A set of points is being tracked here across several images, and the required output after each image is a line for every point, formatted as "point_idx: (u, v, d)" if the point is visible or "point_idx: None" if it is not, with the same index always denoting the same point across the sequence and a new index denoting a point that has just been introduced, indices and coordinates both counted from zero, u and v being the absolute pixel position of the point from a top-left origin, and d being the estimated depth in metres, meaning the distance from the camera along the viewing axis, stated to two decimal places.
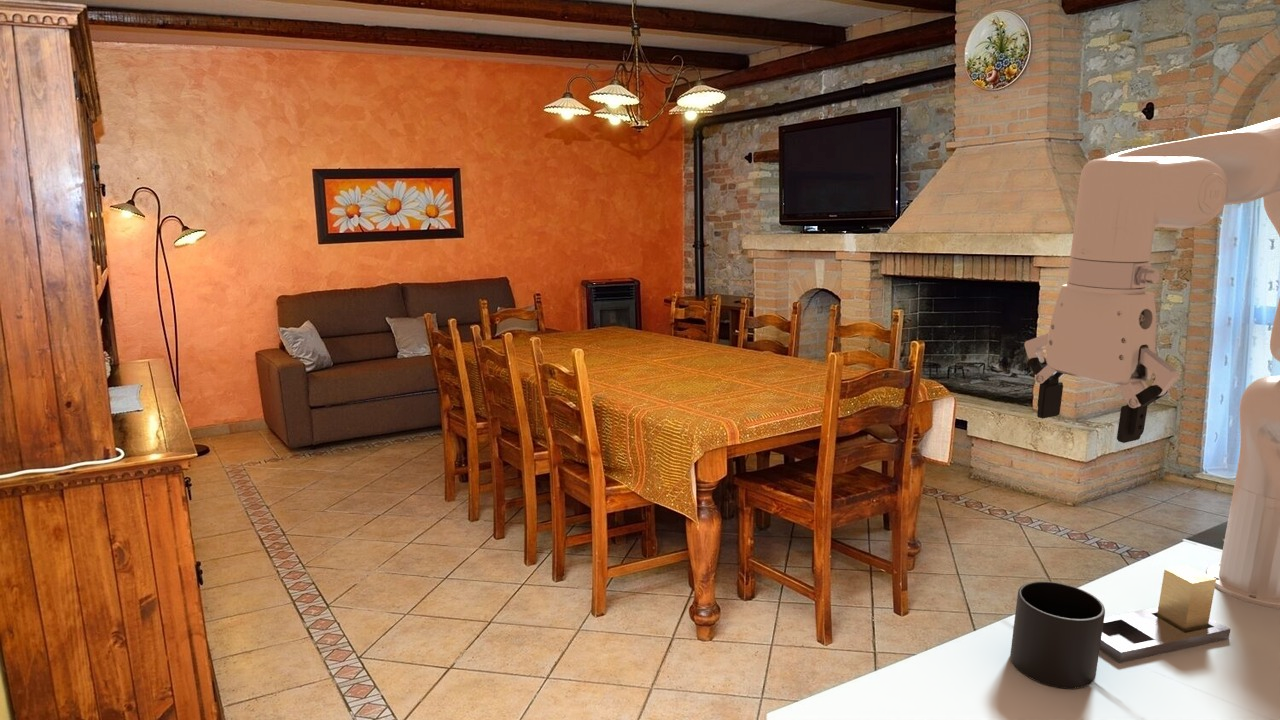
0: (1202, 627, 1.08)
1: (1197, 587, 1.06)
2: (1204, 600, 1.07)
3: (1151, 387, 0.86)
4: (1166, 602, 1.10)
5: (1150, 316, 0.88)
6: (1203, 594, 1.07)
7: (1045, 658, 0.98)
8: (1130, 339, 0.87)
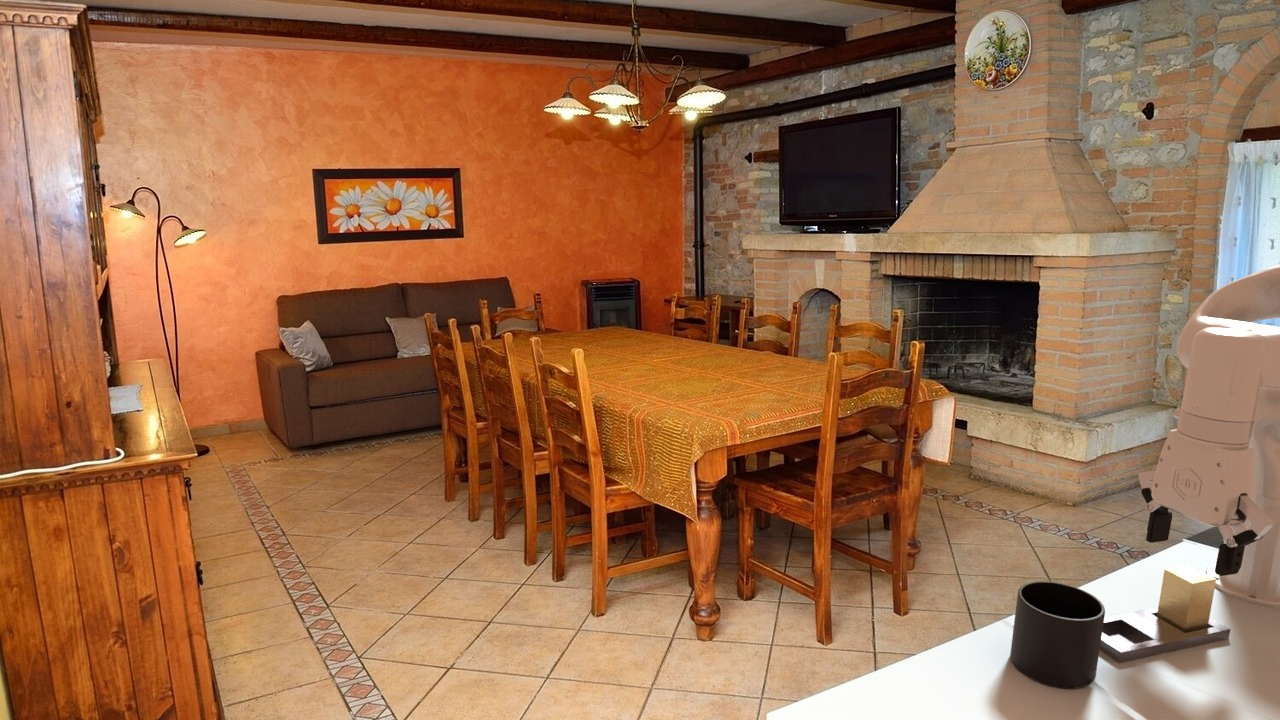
0: (1202, 627, 1.08)
1: (1197, 587, 1.06)
2: (1204, 600, 1.07)
3: None
4: (1166, 602, 1.10)
5: None
6: (1203, 594, 1.07)
7: (1045, 658, 0.98)
8: None
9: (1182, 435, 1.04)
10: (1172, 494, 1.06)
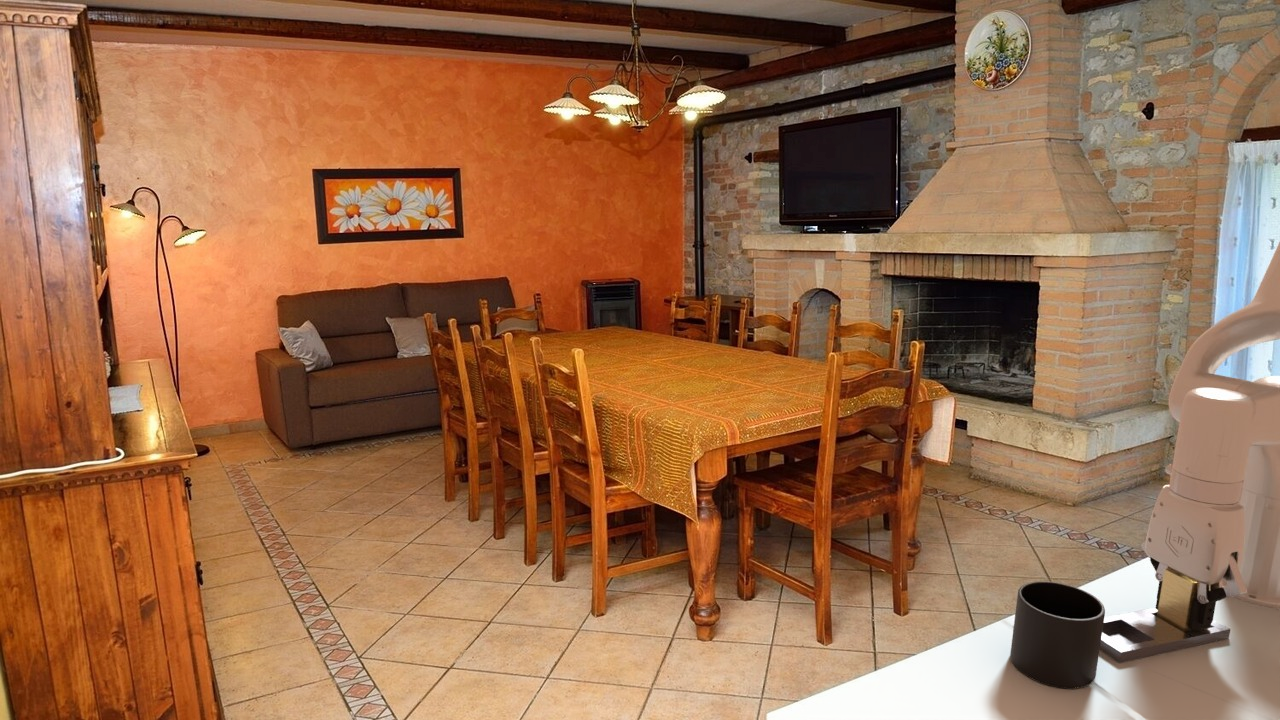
0: None
1: None
2: None
3: None
4: (1166, 602, 1.10)
5: None
6: None
7: (1045, 658, 0.98)
8: None
9: (1174, 494, 1.06)
10: (1165, 550, 1.08)
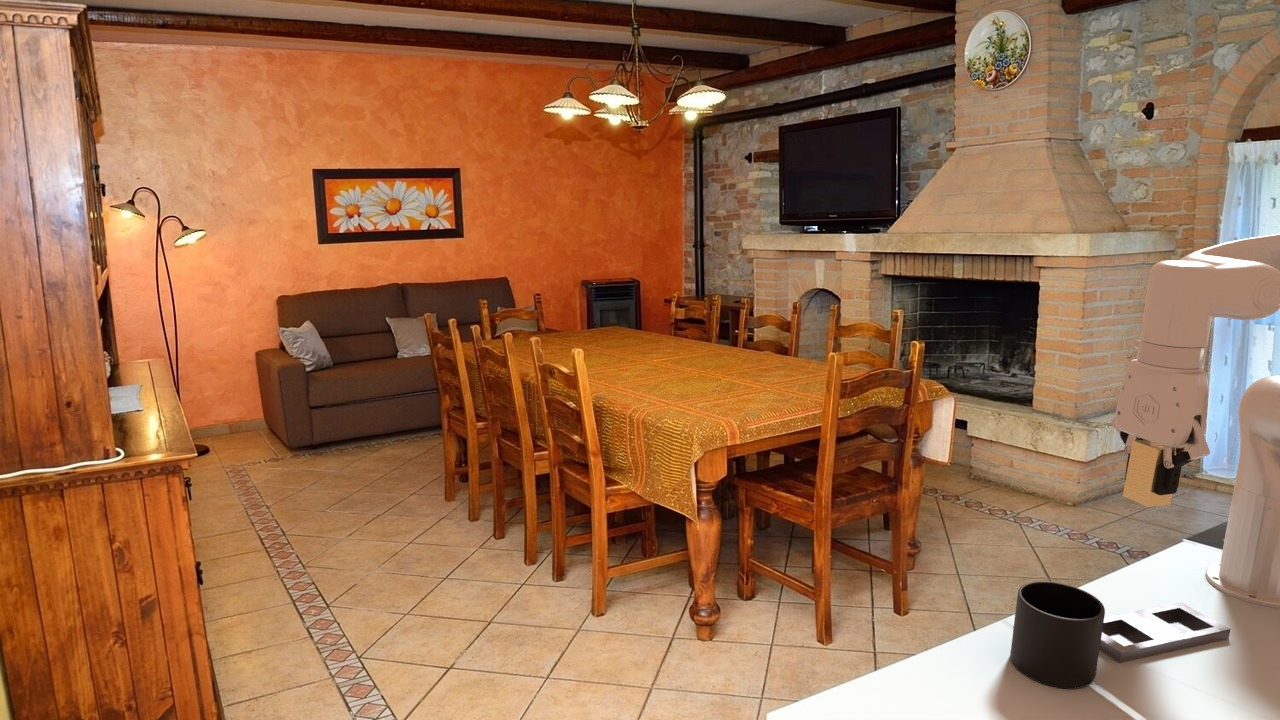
0: (1167, 496, 1.12)
1: None
2: None
3: None
4: (1133, 472, 1.14)
5: None
6: None
7: (1045, 658, 0.98)
8: None
9: (1141, 363, 1.10)
10: (1133, 420, 1.12)
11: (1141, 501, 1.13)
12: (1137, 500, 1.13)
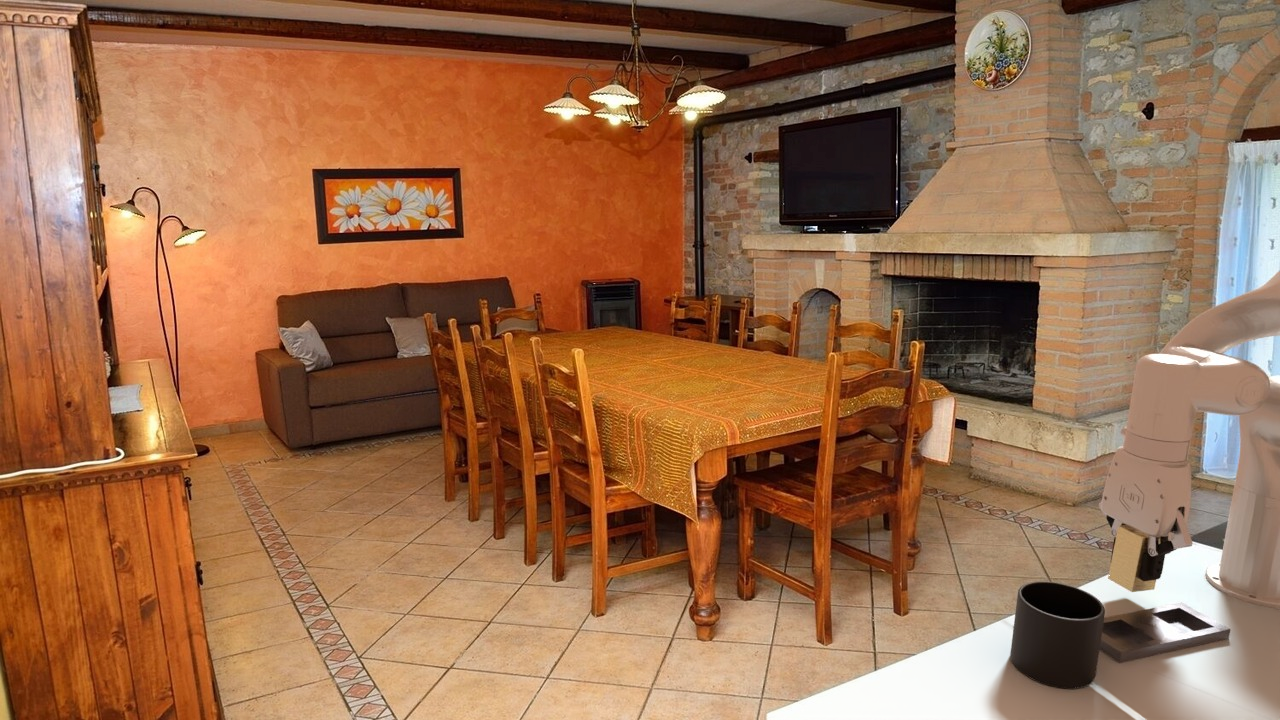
0: (1150, 581, 1.15)
1: (1147, 541, 1.13)
2: None
3: None
4: (1118, 556, 1.17)
5: None
6: None
7: (1045, 658, 0.98)
8: None
9: (1127, 453, 1.13)
10: (1119, 506, 1.15)
11: (1126, 586, 1.16)
12: (1122, 584, 1.16)
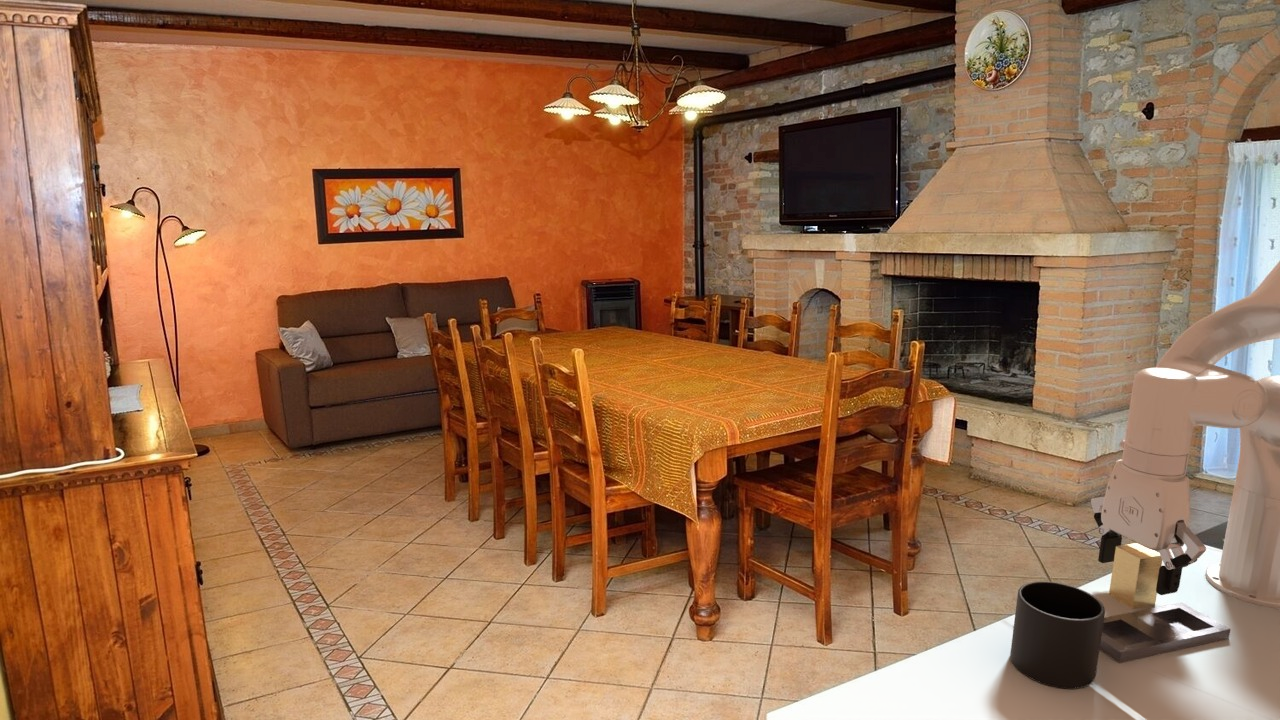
0: (1150, 600, 1.16)
1: (1145, 562, 1.14)
2: (1151, 575, 1.15)
3: None
4: (1117, 577, 1.17)
5: None
6: (1151, 569, 1.15)
7: (1045, 658, 0.98)
8: None
9: (1125, 467, 1.13)
10: (1118, 519, 1.16)
11: None
12: None
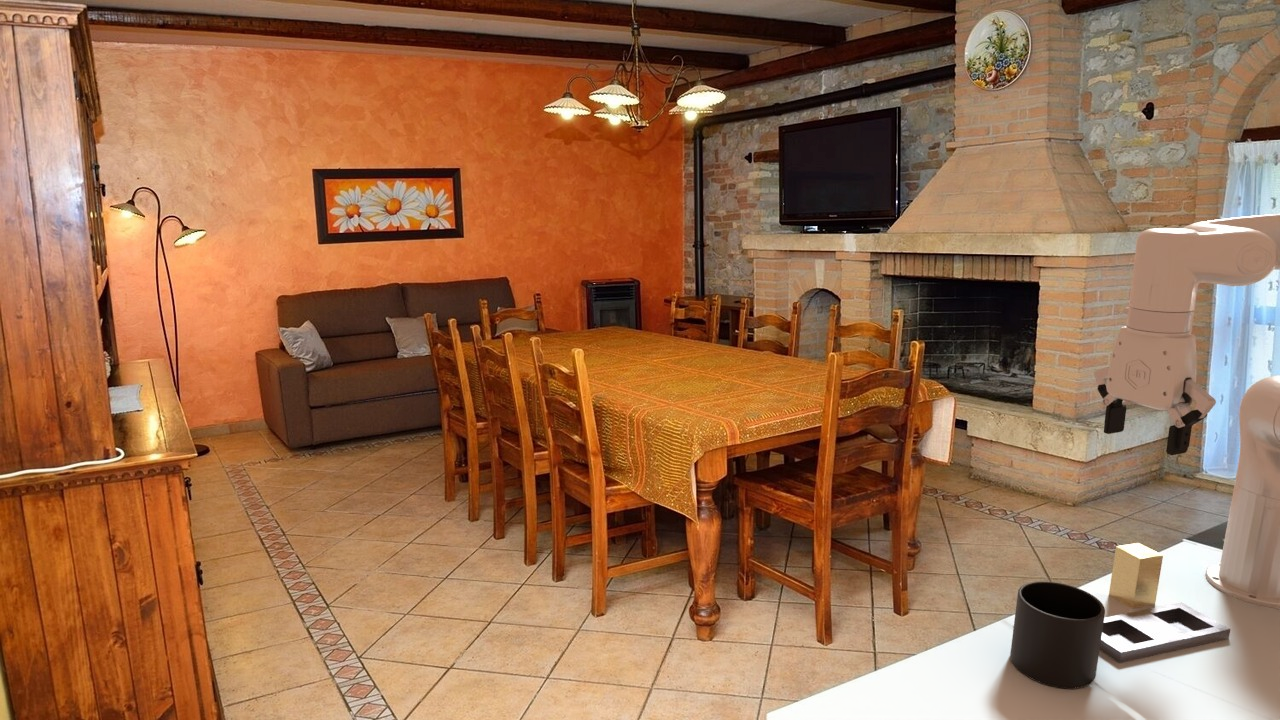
0: (1150, 600, 1.16)
1: (1145, 562, 1.14)
2: (1151, 575, 1.15)
3: None
4: (1117, 577, 1.17)
5: None
6: (1151, 569, 1.15)
7: (1045, 658, 0.98)
8: None
9: (1131, 329, 1.13)
10: (1125, 385, 1.15)
11: None
12: None
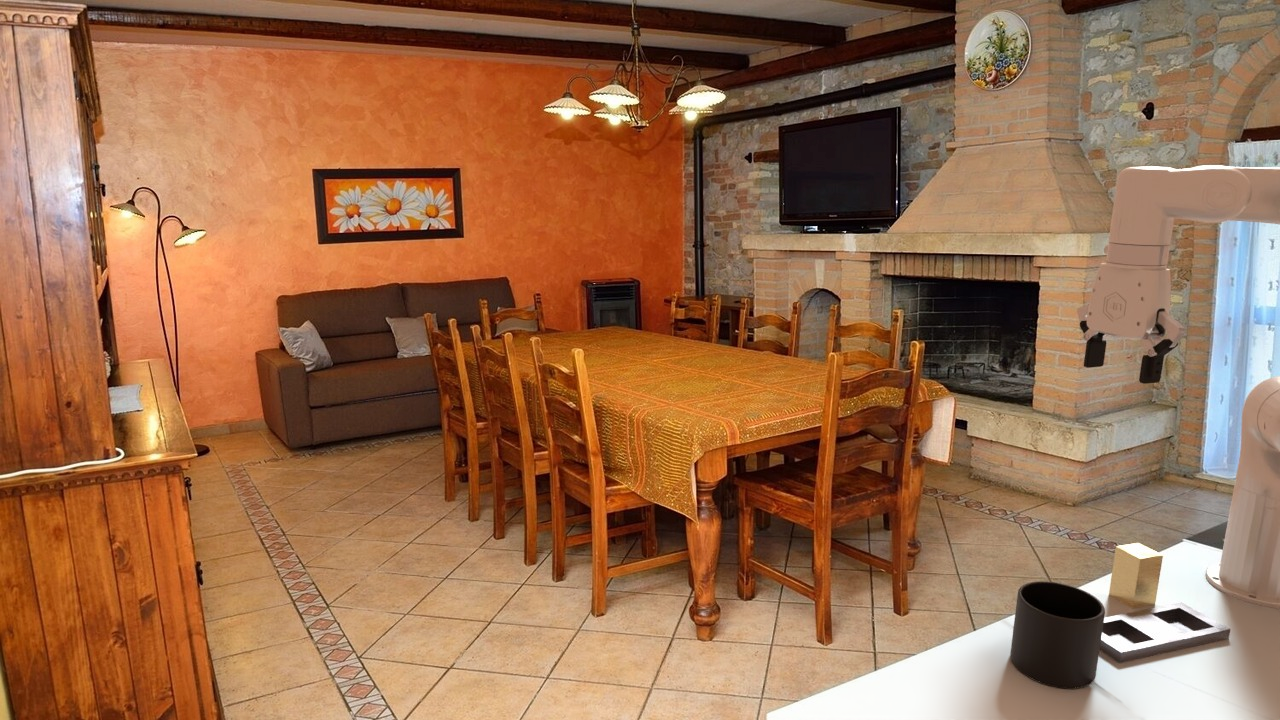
0: (1150, 600, 1.16)
1: (1145, 562, 1.14)
2: (1151, 575, 1.15)
3: None
4: (1117, 577, 1.17)
5: None
6: (1150, 569, 1.15)
7: (1045, 658, 0.98)
8: None
9: (1109, 263, 1.18)
10: (1103, 318, 1.21)
11: None
12: None
